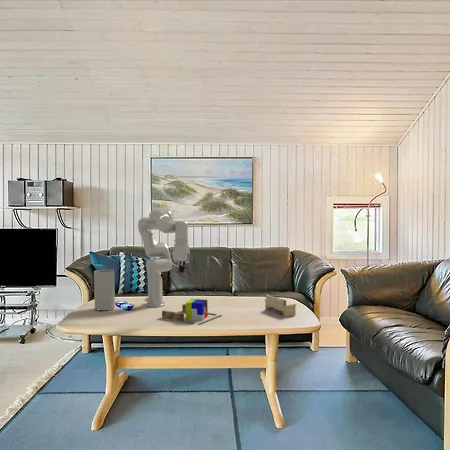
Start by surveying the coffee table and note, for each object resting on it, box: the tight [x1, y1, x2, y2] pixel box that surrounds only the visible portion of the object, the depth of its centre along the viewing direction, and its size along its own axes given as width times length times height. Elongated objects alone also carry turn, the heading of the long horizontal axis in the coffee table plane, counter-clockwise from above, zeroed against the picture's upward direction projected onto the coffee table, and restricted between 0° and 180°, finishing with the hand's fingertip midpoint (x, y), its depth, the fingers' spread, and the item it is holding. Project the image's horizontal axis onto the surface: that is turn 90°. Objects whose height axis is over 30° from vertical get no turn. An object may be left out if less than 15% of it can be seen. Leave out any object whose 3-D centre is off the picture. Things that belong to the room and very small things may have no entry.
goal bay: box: [181, 312, 223, 326], centre depth 234 cm, size 12×23×1 cm, turn 147°
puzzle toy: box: [185, 298, 209, 322], centre depth 236 cm, size 10×10×10 cm
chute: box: [161, 303, 186, 322], centre depth 242 cm, size 15×21×4 cm
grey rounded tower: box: [93, 268, 116, 311], centre depth 260 cm, size 12×12×25 cm
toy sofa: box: [264, 293, 297, 317], centre depth 248 cm, size 21×9×10 cm, turn 30°
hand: (181, 272), depth 242 cm, fingers closed
